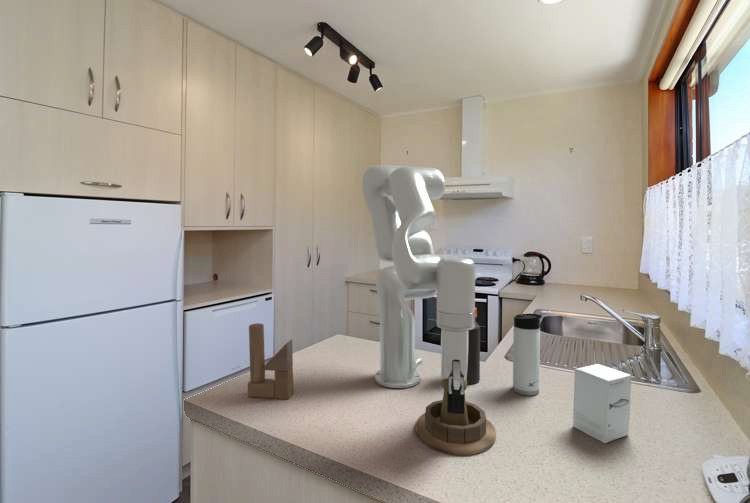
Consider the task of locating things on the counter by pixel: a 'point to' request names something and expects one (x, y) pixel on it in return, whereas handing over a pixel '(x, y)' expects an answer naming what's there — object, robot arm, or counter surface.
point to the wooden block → (269, 368)
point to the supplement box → (602, 402)
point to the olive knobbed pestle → (451, 417)
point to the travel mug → (526, 353)
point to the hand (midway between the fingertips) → (454, 401)
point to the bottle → (473, 354)
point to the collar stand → (456, 431)
